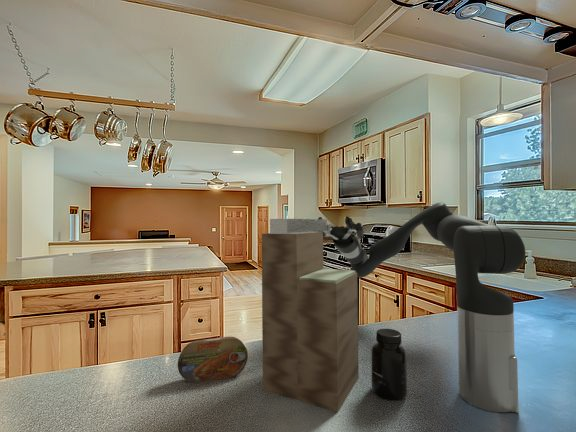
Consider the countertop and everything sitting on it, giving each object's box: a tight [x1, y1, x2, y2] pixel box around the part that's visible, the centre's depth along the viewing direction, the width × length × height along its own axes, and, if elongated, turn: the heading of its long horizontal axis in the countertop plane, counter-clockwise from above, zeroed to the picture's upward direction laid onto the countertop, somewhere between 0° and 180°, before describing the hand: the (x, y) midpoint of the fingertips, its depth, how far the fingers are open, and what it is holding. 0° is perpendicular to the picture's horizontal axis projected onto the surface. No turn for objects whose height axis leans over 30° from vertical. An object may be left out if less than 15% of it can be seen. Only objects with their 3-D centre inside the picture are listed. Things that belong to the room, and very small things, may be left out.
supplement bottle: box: [370, 328, 408, 402], centre depth 63 cm, size 7×7×12 cm
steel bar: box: [269, 218, 328, 234], centre depth 72 cm, size 4×22×3 cm, turn 152°
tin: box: [177, 336, 249, 383], centre depth 70 cm, size 15×3×8 cm, turn 105°
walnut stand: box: [261, 232, 360, 413], centre depth 66 cm, size 16×14×32 cm
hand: (332, 219), depth 92 cm, fingers open, 8 cm apart
